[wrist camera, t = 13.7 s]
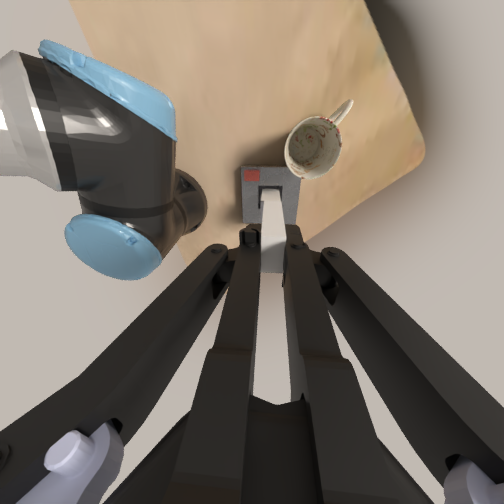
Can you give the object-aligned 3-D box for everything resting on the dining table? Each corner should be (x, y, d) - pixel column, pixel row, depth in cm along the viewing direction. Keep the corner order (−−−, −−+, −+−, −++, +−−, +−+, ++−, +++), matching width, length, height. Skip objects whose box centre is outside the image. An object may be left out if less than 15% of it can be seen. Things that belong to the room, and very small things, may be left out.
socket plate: (243, 219, 46) (242, 224, 44) (242, 165, 40) (240, 167, 38) (294, 220, 46) (295, 225, 43) (301, 165, 39) (302, 168, 37)
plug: (262, 204, 44) (260, 221, 36) (262, 188, 42) (260, 202, 34) (278, 205, 44) (279, 221, 36) (279, 188, 42) (280, 202, 34)
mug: (272, 148, 38) (272, 155, 29) (323, 81, 32) (341, 66, 24) (302, 176, 40) (310, 190, 32) (354, 119, 34) (381, 117, 26)
